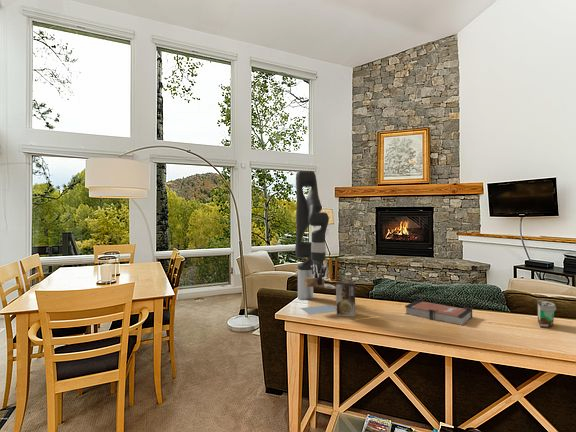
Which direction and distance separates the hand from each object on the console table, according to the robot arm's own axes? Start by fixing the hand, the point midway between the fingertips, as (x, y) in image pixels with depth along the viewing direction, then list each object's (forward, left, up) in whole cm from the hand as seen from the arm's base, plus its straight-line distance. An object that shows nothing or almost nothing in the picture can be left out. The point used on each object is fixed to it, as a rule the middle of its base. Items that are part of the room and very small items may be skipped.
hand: (318, 284), depth 172 cm
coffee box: (+12, +9, -14) cm, 21 cm away
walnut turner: (0, +1, -1) cm, 1 cm away
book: (+30, +50, -14) cm, 61 cm away
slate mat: (0, +1, -14) cm, 14 cm away
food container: (+59, +84, -14) cm, 104 cm away
